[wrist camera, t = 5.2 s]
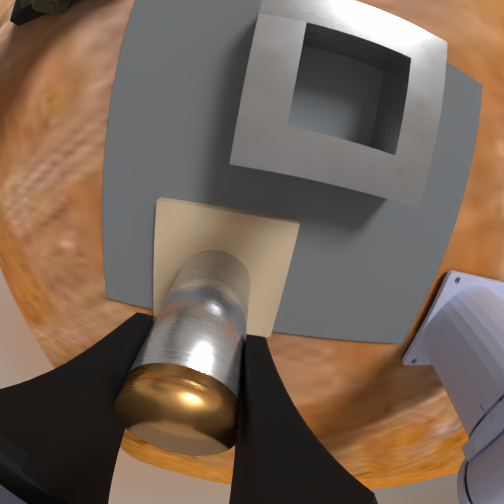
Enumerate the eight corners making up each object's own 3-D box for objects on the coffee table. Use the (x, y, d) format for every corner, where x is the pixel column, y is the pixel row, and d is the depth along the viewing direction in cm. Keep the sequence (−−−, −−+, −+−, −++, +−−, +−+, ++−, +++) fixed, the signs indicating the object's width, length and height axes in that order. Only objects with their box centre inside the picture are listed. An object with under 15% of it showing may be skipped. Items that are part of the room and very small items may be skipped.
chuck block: (417, 54, 10) (447, 42, 7) (391, 192, 13) (419, 208, 10) (265, 8, 10) (266, -20, 7) (236, 157, 13) (229, 164, 10)
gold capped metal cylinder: (258, 260, 13) (252, 413, 6) (241, 318, 14) (223, 463, 7) (186, 241, 13) (108, 374, 5) (176, 301, 14) (120, 435, 7)
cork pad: (298, 220, 14) (299, 224, 14) (269, 331, 17) (270, 337, 16) (160, 197, 14) (156, 200, 13) (156, 310, 17) (153, 315, 16)
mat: (478, 85, 10) (482, 84, 10) (399, 340, 18) (401, 343, 17) (137, 2, 10) (135, -1, 9) (109, 295, 17) (107, 298, 16)
